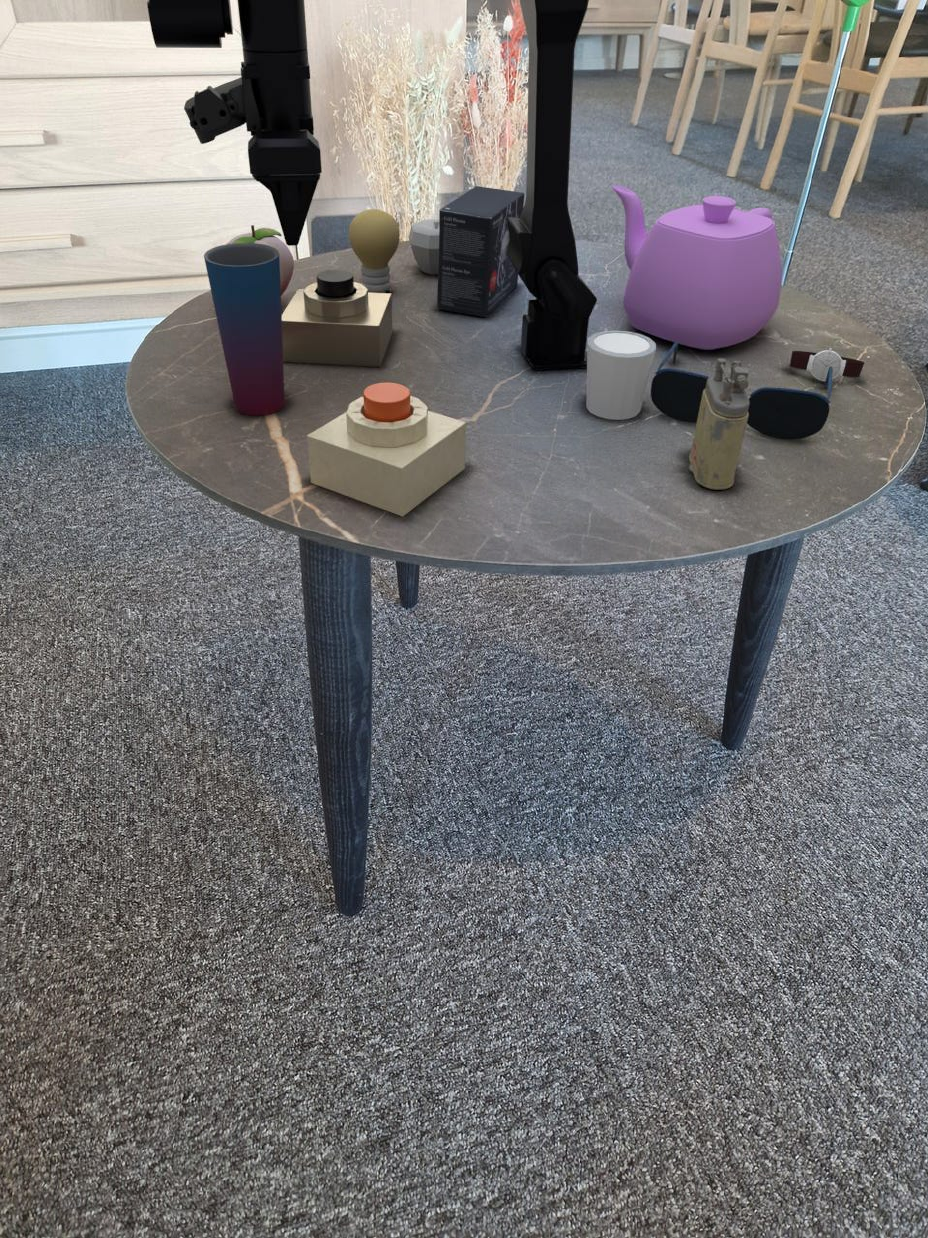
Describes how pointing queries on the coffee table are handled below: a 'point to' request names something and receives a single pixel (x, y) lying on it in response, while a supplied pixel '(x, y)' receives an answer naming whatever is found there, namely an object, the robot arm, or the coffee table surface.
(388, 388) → the power button
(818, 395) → the sunglasses
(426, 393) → the coffee table surface
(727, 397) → the lighter
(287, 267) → the decorative fruit
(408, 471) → the beige button housing
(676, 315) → the teapot
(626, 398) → the white tapered cylinder
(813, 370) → the watch
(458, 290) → the small box
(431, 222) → the white faceted pot
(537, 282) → the robot arm
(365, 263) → the light bulb
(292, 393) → the coffee table surface
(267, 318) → the cup
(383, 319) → the beige button base
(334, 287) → the button
